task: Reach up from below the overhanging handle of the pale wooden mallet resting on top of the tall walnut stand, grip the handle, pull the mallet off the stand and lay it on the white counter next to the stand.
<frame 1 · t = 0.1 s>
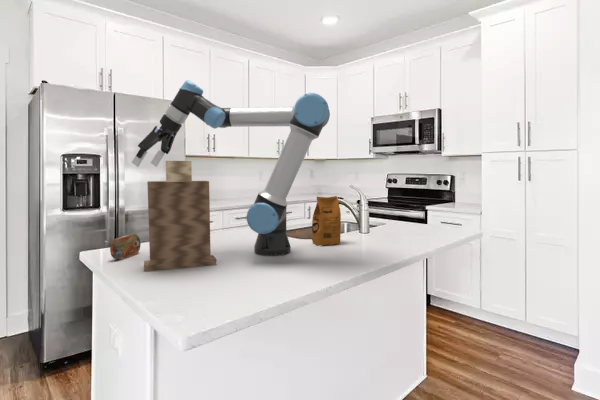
hand: (144, 164, 142), 36 cm above the countertop, tool tilted 35°, fingers open, 13 cm apart
tin: (126, 257, 143), on the countertop
stand: (180, 265, 130), on the countertop
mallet: (178, 181, 131), point 30 cm above the countertop, touching stand
coffee package: (325, 244, 169), on the countertop
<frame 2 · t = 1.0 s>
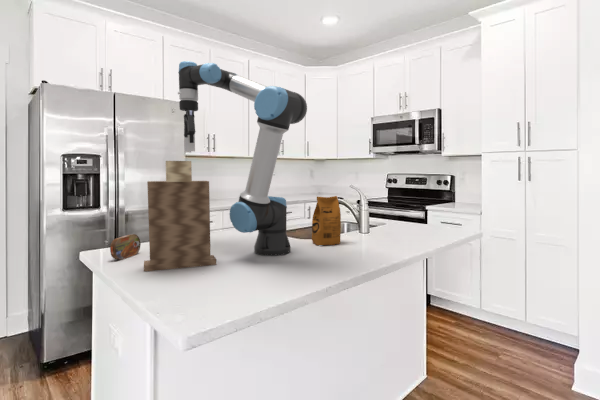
hand: (189, 152, 155), 41 cm above the countertop, tool pointing down, fingers open, 13 cm apart
nothing on the countertop moved.
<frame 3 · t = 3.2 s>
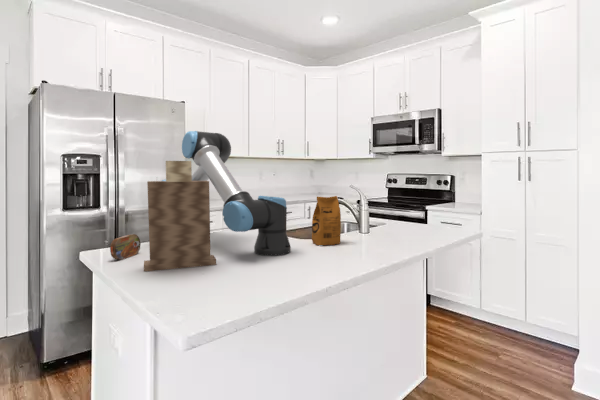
hand: (174, 179, 155), 30 cm above the countertop, tool pointing upward, fingers open, 13 cm apart
nothing on the countertop moved.
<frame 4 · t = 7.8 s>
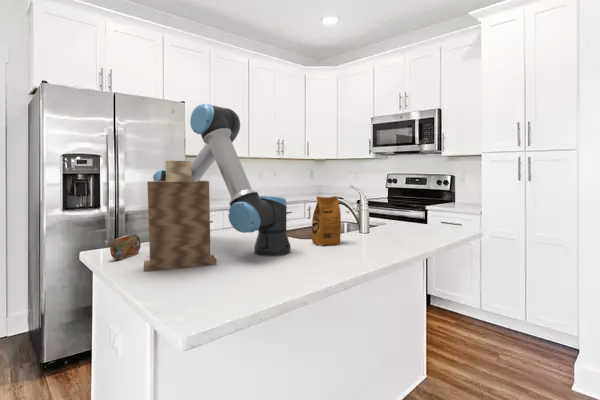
hand: (176, 163, 134), 36 cm above the countertop, tool pointing upward, fingers closed on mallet, 3 cm apart
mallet: (178, 181, 131), point 30 cm above the countertop, touching gripper, stand
everything else where it was.
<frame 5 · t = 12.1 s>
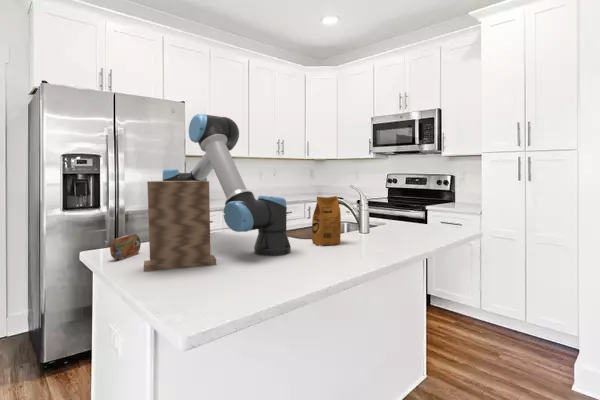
hand: (176, 203, 147), 20 cm above the countertop, tool horizontal, fingers closed on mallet, 3 cm apart
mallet: (177, 222, 147), point 13 cm above the countertop, tilted 27°, touching gripper
everything else where it was.
when the fingers open (12 cm above the countertop, at t = 13.9 s): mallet drops 5 cm, on the countertop.
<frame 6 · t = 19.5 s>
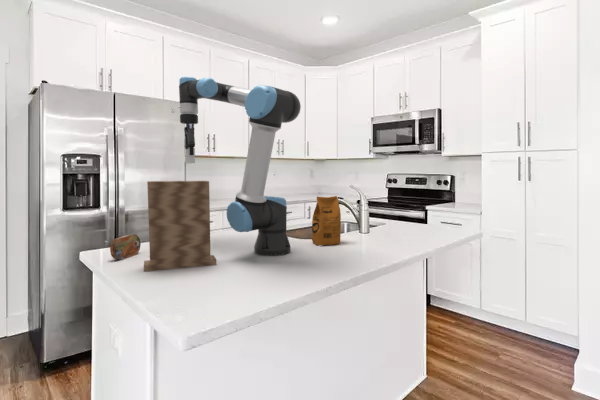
hand: (190, 163, 161), 37 cm above the countertop, tool pointing down, fingers open, 13 cm apart
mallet: (177, 252, 150), on the countertop
everything else where it was.
at the end: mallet inside the target area (2.5 cm from its centre), on the countertop; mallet touching countertop; the gripper is holding nothing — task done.
